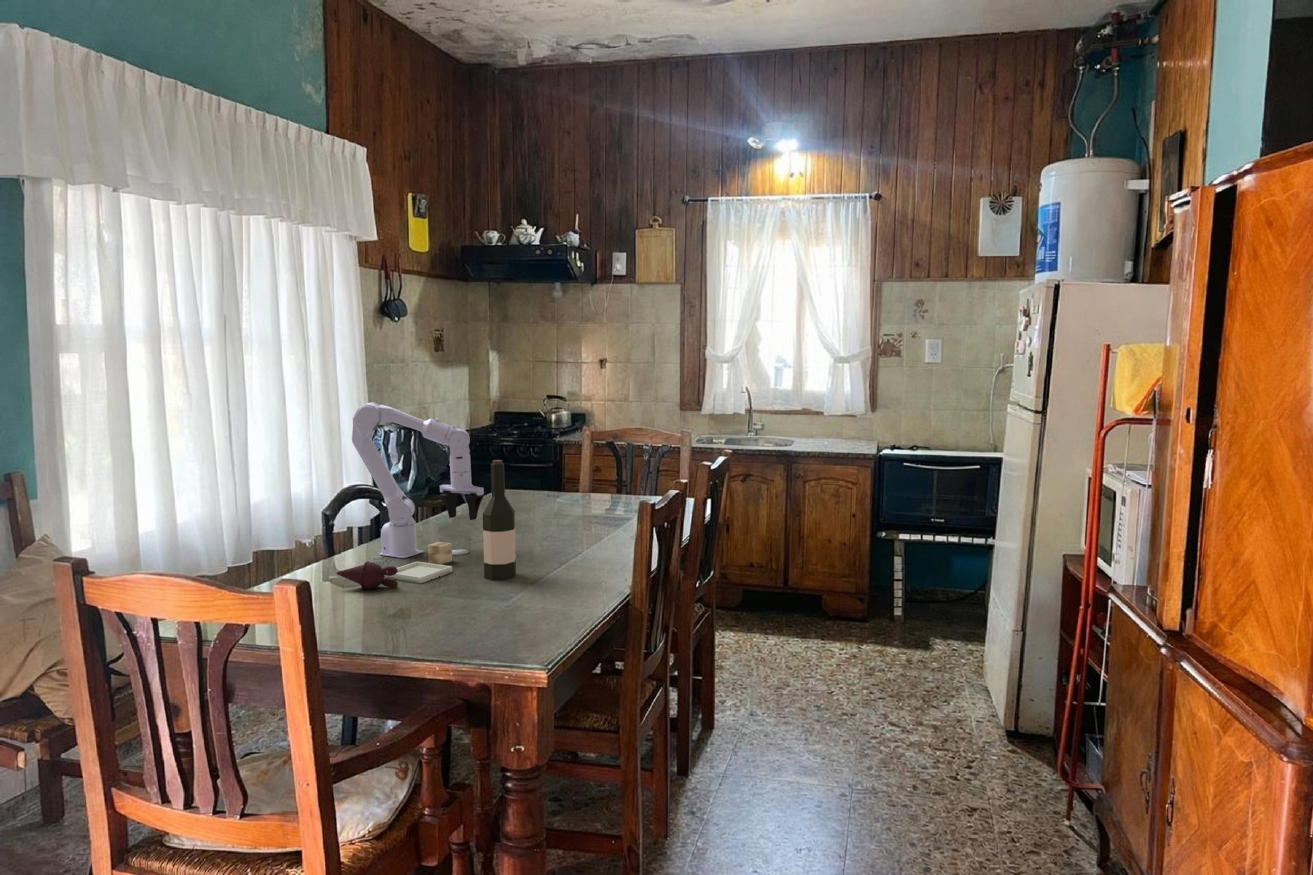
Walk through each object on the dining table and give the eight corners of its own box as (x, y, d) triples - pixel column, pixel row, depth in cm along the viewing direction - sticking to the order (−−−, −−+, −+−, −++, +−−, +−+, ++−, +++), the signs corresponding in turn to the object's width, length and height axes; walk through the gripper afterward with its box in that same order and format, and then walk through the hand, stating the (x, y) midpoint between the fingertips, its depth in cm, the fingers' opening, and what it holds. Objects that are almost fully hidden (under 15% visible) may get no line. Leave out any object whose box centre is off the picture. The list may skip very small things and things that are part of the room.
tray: (384, 577, 220) (384, 572, 220) (416, 566, 231) (416, 561, 230) (420, 583, 215) (420, 577, 214) (452, 571, 225) (452, 566, 225)
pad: (442, 554, 244) (442, 553, 244) (456, 549, 250) (456, 548, 250) (459, 556, 242) (459, 555, 242) (473, 551, 247) (473, 550, 247)
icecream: (330, 567, 206) (392, 572, 206) (341, 552, 213) (401, 557, 213) (331, 593, 208) (393, 598, 208) (342, 577, 215) (402, 582, 215)
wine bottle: (522, 573, 223) (519, 459, 220) (506, 581, 216) (503, 463, 212) (494, 570, 226) (491, 457, 223) (477, 579, 218) (474, 462, 215)
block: (428, 563, 235) (427, 545, 234) (439, 559, 239) (438, 541, 238) (441, 564, 233) (440, 546, 232) (452, 561, 237) (451, 543, 236)
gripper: (489, 470, 245) (491, 517, 246) (450, 468, 252) (452, 513, 253) (473, 474, 239) (475, 522, 240) (433, 471, 245) (436, 518, 247)
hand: (462, 518), depth 246 cm, fingers open, 7 cm apart
